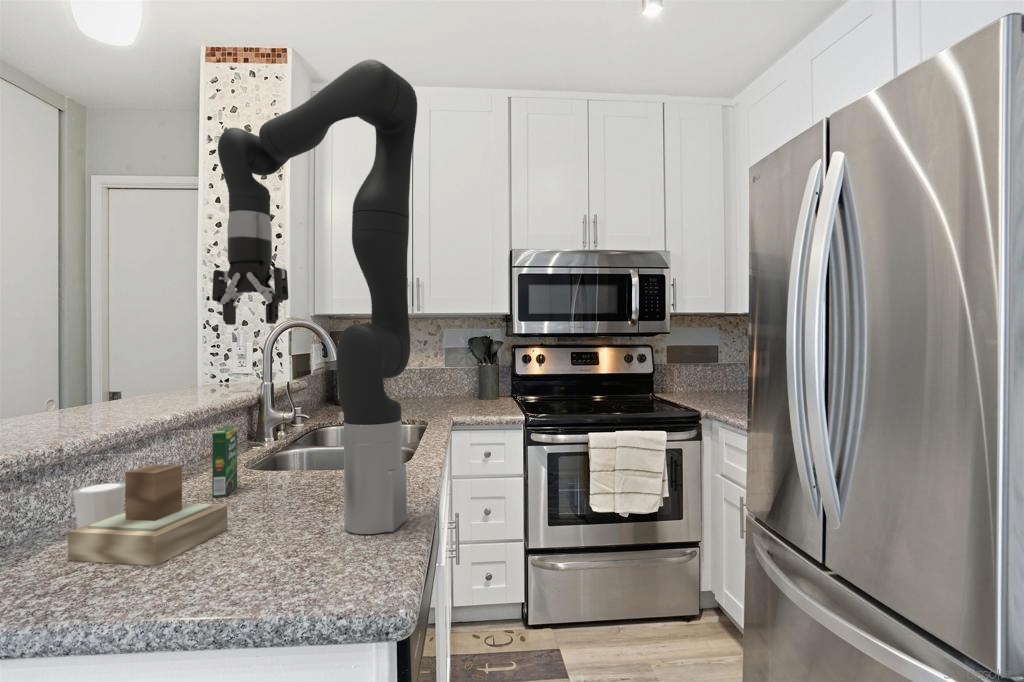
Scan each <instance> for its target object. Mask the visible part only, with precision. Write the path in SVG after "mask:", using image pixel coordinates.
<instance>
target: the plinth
mask: <svg viewBox="0 0 1024 682" xmlns="http://www.w3.org/2000/svg"><path fill="white" fill-rule="evenodd" d="M226 531H228V505H227V504H209V503H207V504H206V503H205V504H204V503H184V502H182V510H181V511H179V512H176V513H174V514H171V515H169V516H166V517H164V518H161V519H159V520H156V521H146V520H125V511H123V512H122V513H120V514H117V515H114V516H111V517H108V518H105V519H103V520H100V521H97V522H94V523H91V524H88V525H86V526H83V527H80V528H78V527H77V528H75V529H71V530H69V531H67V561H74V562H75V561H76V562H89V563H90V562H91V563H106V564H108V563H109V564H118V565H119V564H121V565H122V564H123V565H138V566H152V567H153V566H154V567H155V566H158V565H160V564H162V563H164V562H166V561H168V560H170V559H172V558H174V557H175V556H176V557H177V556H178V555H180V554H182V553H184V552H186V551H188V550H190V549H192V548H194V547H196V546H198V545H200V544H202V543H205V542H206V541H208V540H210V539H212V538H214V537H216V536H218V535H220V534H222V533H224V532H226Z"/></svg>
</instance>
